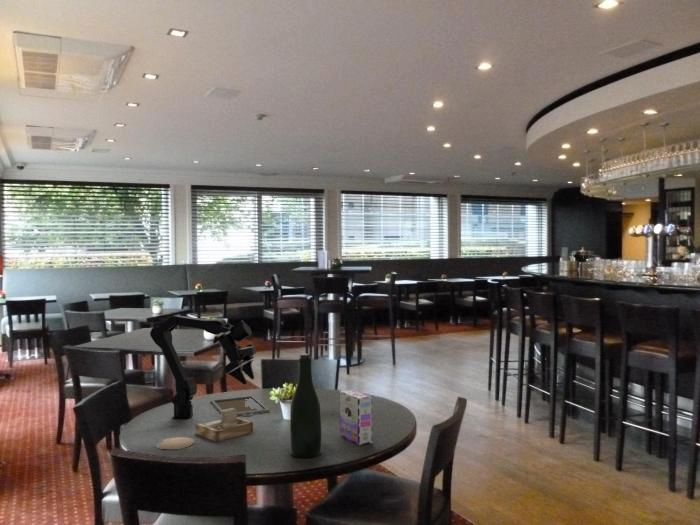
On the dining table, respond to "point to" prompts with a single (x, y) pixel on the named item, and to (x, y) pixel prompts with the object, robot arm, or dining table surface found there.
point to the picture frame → (238, 405)
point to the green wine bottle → (305, 414)
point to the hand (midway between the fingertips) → (249, 381)
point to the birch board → (228, 418)
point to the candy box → (356, 417)
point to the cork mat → (176, 443)
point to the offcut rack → (218, 433)
